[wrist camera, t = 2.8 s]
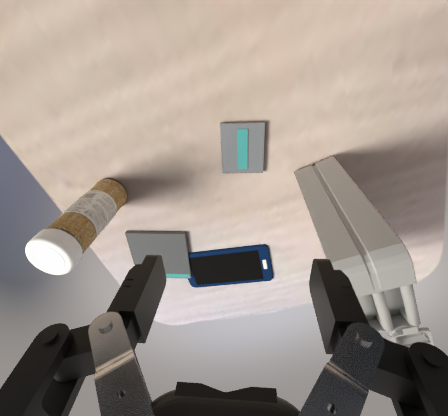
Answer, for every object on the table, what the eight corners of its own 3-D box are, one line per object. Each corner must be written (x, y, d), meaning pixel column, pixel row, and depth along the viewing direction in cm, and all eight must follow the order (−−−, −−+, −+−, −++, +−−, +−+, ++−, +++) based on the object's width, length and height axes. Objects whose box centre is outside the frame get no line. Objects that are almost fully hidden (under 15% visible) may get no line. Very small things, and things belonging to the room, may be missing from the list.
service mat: (126, 230, 39) (125, 233, 38) (185, 231, 38) (184, 234, 38) (139, 274, 44) (138, 276, 43) (191, 275, 43) (191, 278, 42)
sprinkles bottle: (100, 206, 37) (34, 275, 26) (91, 176, 35) (14, 239, 23) (131, 207, 37) (78, 278, 25) (124, 177, 34) (62, 241, 23)
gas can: (362, 246, 37) (518, 512, 16) (327, 257, 38) (425, 512, 17) (334, 153, 30) (535, 393, 9) (293, 170, 32) (383, 410, 11)
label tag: (220, 122, 30) (220, 124, 29) (264, 121, 29) (264, 123, 29) (222, 171, 33) (222, 173, 32) (262, 171, 32) (263, 173, 32)
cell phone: (273, 277, 42) (273, 280, 41) (192, 284, 45) (191, 288, 44) (267, 241, 38) (267, 245, 38) (179, 252, 41) (178, 255, 40)
